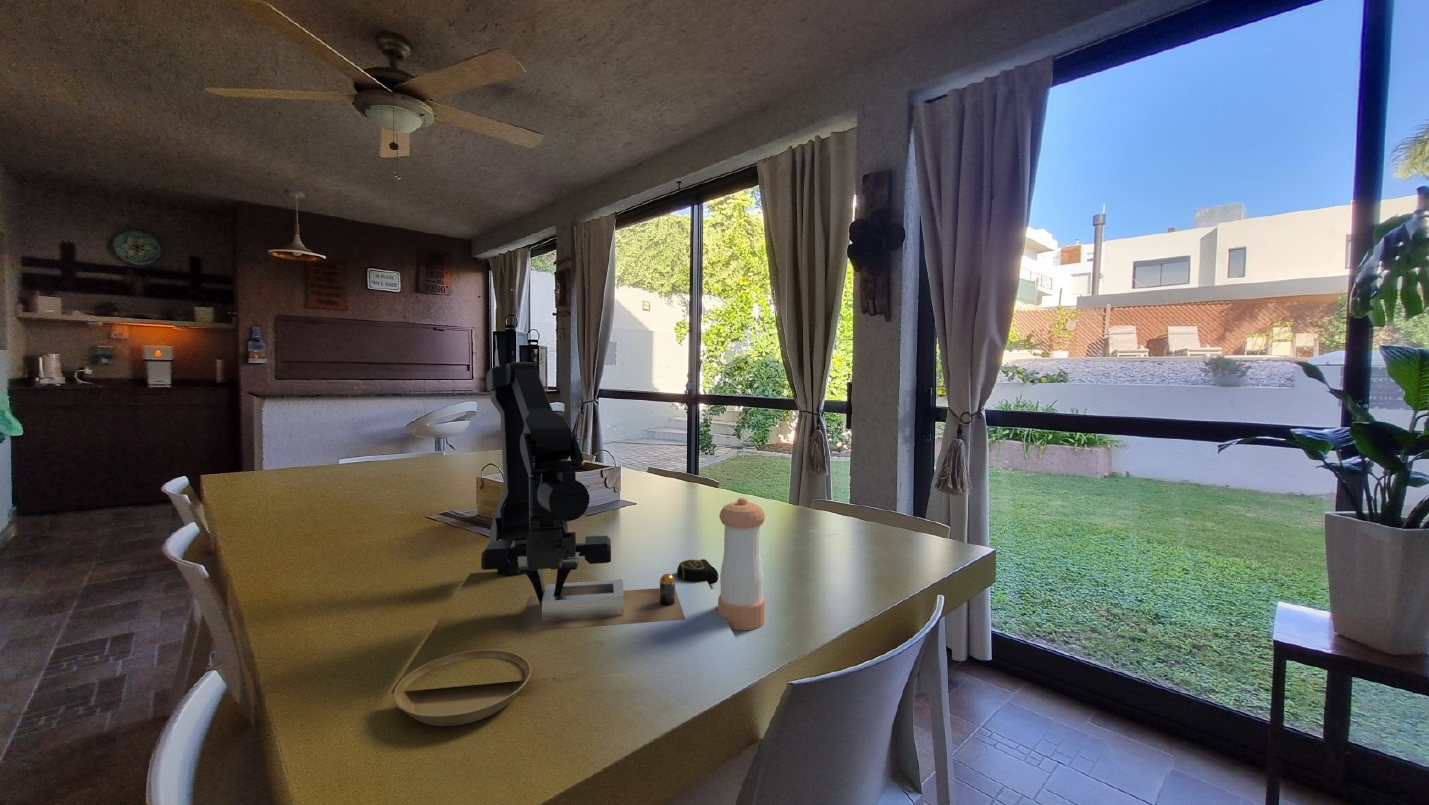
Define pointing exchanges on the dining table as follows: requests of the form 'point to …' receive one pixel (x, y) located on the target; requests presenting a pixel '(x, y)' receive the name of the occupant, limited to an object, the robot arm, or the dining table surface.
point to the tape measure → (697, 571)
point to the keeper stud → (667, 590)
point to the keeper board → (636, 610)
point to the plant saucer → (459, 693)
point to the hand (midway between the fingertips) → (549, 606)
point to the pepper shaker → (742, 566)
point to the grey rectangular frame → (583, 600)
